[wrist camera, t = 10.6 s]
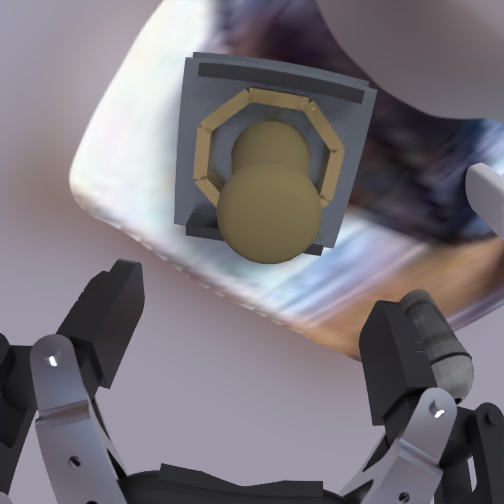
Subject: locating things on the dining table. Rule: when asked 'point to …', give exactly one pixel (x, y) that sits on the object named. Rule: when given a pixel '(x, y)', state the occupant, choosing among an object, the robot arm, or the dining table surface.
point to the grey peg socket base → (258, 109)
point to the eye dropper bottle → (486, 195)
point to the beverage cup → (440, 345)
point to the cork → (269, 195)
